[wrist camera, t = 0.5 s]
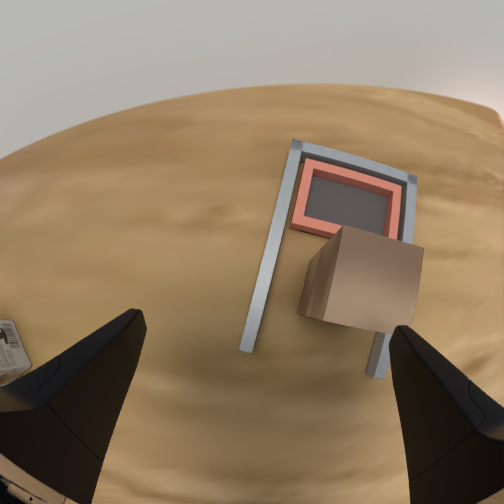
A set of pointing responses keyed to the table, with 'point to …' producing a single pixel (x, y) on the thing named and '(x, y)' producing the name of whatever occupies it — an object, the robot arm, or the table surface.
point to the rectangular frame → (345, 202)
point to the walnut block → (363, 281)
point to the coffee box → (11, 353)
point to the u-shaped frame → (296, 155)
